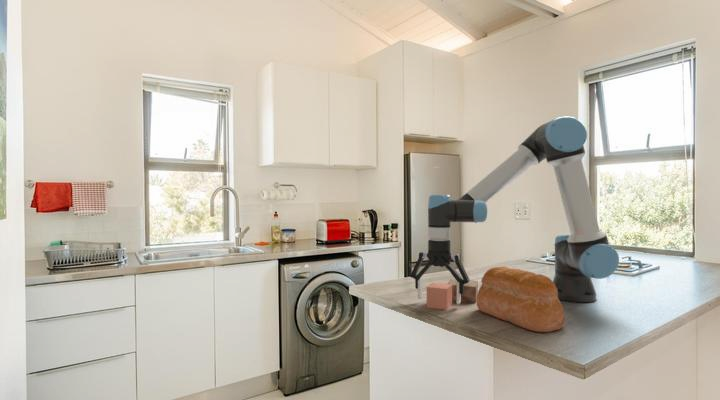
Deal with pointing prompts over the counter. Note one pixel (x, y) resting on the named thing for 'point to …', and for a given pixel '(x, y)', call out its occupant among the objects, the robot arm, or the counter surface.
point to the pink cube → (439, 296)
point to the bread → (521, 299)
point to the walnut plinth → (465, 291)
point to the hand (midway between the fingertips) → (439, 300)
